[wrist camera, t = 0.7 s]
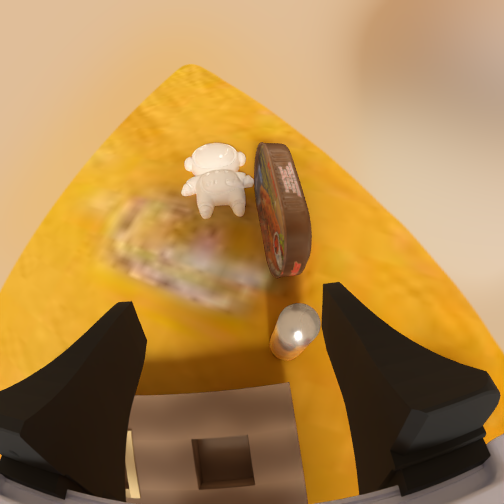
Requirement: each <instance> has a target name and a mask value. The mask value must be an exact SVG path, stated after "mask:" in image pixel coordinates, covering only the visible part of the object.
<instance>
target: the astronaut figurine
mask: <svg viewBox="0 0 504 504" xmlns="http://www.w3.org/2000/svg"><path fill="white" fill-rule="evenodd" d="M245 161H246V156H245V155H244V154H243V153H242V152H237V151H236V149H234V148H233V147H232V146H230V145H228V144H223V143H210V144H206V145H203V146H201V147H199V148H198V149H196V150H195V151H194V153H193V154H192V158H191V157H188V158H187V159H186V160H185V162H184V165H185V169H186V170H187V171H192V173H193V174H194V175H195V177H192V178H190V179H189V180H188V181H187V182H186V184H184V186H183V189H182V191H181V194H182V195H183V196H190V195H193V194H196V195H197V206H198V209H199V212H200V214H201V216H202V217H203V218H204V219H208V218H210V217H211V215H212V213H213V210H214V207H215V206H219V205H229V206H230V207H231V208H232V210H233V212H234V214H235V215H237V216H239V217H241V216H243V215H244V212H245V205H246V197H245V191H244V188H247V187H252V186H253V185H254V179H253V178H251V176H249V175H247V176H245V173H243V172H237V171H238V170H239V166H243V165H244V164H245Z"/></svg>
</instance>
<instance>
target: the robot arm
mask: <svg viewBox="0 0 504 504" xmlns="http://www.w3.org/2000/svg"><path fill="white" fill-rule="evenodd" d="M322 330H323V335H324V340H325V344H326V349H327V352H328V355H329V358H330V361H331V363H332V366H333V369H334V372H335V375H336V378H337V381H338V384H339V386H340V389H341V392H342V395H343V399H344V402H345V406H346V411H347V416H348V420H349V425H350V431H351V436H352V442H353V448H354V455H355V461H356V469H357V477H358V486H359V495H358V496H354V497H349V498H344V499H339V500H334V501H328V502H323V503H316V504H504V434H502V435H500V436H498V437H496V438H495V439H493V440H492V441H490V442H489V443H488V444H485V442H484V440H483V437H485V436H486V431H485V429H484V427H483V424H484V423H485V422H486V420H487V419H488V418H489V416H490V415H491V414H492V412H493V411H494V410H495V408H496V406H497V405H498V403H499V399H500V392H499V390H498V389H497V387H496V385H495V384H494V382H493V380H492V379H491V377H490V376H489V374H488V373H487V372H486V371H483V370H480V369H476V368H473V367H470V366H466V365H463V364H460V363H458V362H455V361H453V360H450V359H448V358H445V357H443V356H441V355H438V354H436V353H434V352H432V351H430V350H428V349H426V348H424V347H422V346H420V345H419V344H417V343H415V342H413V341H412V340H410V339H409V338H407V337H405V336H404V335H402V334H401V333H399V332H398V331H396V330H395V329H393V328H392V327H390V326H389V325H388V324H387V323H385V322H384V321H383V320H381V319H380V318H379V317H377V316H376V315H375V314H374V313H373V312H372V311H370V310H369V309H368V308H367V307H366V306H365V305H364V304H362V303H361V302H360V301H359V300H358V299H357V298H356V297H355V296H354V295H353V294H352V293H351V292H349V291H348V290H347V289H346V288H345V287H344V286H343V285H342V284H341V283H340V282H336V283H328V284H323V305H322ZM146 344H147V339H146V337H145V334H144V332H143V329H142V327H141V324H140V321H139V319H138V316H137V314H136V311H135V308H134V306H133V303H132V301H131V302H118V303H117V304H116V305H114V306H113V307H112V308H111V309H110V310H109V311H108V312H107V313H106V314H104V315H103V316H102V317H101V318H100V319H99V320H98V321H97V322H96V323H95V324H94V325H93V326H92V327H91V328H90V329H89V330H88V331H87V332H86V333H85V334H84V335H83V336H81V337H80V338H79V339H78V340H77V341H76V342H75V343H74V344H73V345H71V346H70V347H69V348H68V349H67V350H66V351H65V352H63V353H62V354H61V355H60V356H58V357H57V358H56V359H54V360H53V361H52V362H50V363H49V364H48V365H46V366H45V367H43V368H42V369H40V370H39V371H37V372H35V373H34V374H32V375H31V376H29V377H28V378H26V379H24V380H22V381H20V382H19V383H17V384H15V385H13V386H11V387H9V388H7V389H4V390H2V391H0V454H1V455H2V457H1V459H0V504H133V503H126V490H125V456H126V442H127V432H128V424H129V417H130V412H131V408H132V404H133V400H134V396H135V393H136V389H137V386H138V382H139V379H140V375H141V371H142V368H143V364H144V359H145V352H146Z"/></svg>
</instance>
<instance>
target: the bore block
mask: <svg viewBox="0 0 504 504" xmlns="http://www.w3.org/2000/svg"><path fill="white" fill-rule="evenodd" d="M125 490H126V503H133V504H308V500H307V493H306V487H305V480H304V473H303V467H302V460H301V454H300V447H299V441H298V434H297V428H296V422H295V415H294V409H293V403H292V397H291V390H290V384H289V382H287V383H281V384H274V385H267V386H260V387H252V388H244V389H235V390H225V391H215V392H203V393H188V394H170V395H135V396H134V400H133V404H132V408H131V412H130V417H129V424H128V432H127V442H126V456H125Z"/></svg>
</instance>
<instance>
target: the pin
mask: <svg viewBox="0 0 504 504" xmlns="http://www.w3.org/2000/svg"><path fill="white" fill-rule="evenodd" d="M319 330H320V319H319V316H318V314H317V313H316V311H315V310H314V309H313V308H311V307H310V306H308V305H306V304H301V303H296V304H292V305H289V306H287V307H286V308H285V309H284V310H283V311H282V312H281V314H280V316H279V318H278V321H277V323H276V326H275V328H274V331H273V333H272V336H271V339H270V344H269V345H270V350H271V352H272V353H273V355H274V356H275V357H277V358H278V359H281V360H286V361H287V360H292V359H295V358H296V357H297V356H299V355H300V353H301V352H302V351H303V350H304V349H305V348H306V347H307V346H308V345H309V344H310V343H311V342H312V341H313V340H314V339H315V337H316V336H317V335H318V333H319Z"/></svg>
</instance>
